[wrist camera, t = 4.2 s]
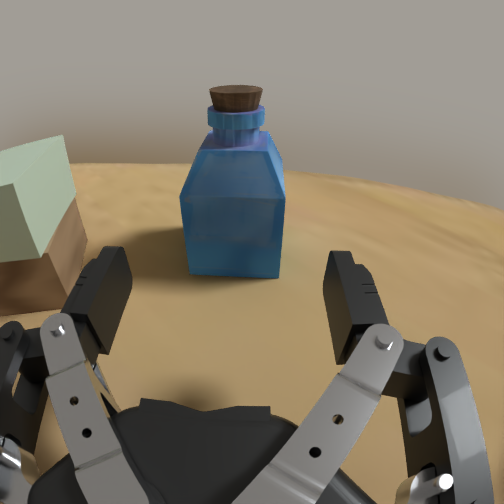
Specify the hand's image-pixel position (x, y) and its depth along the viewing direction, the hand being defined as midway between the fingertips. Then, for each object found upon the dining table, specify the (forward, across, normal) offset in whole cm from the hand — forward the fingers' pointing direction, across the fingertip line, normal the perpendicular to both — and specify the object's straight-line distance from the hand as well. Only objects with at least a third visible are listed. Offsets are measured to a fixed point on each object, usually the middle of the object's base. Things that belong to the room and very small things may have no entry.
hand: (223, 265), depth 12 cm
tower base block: (+6, +16, +7) cm, 19 cm away
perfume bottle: (+10, 0, +7) cm, 12 cm away
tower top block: (+6, +16, +2) cm, 17 cm away
